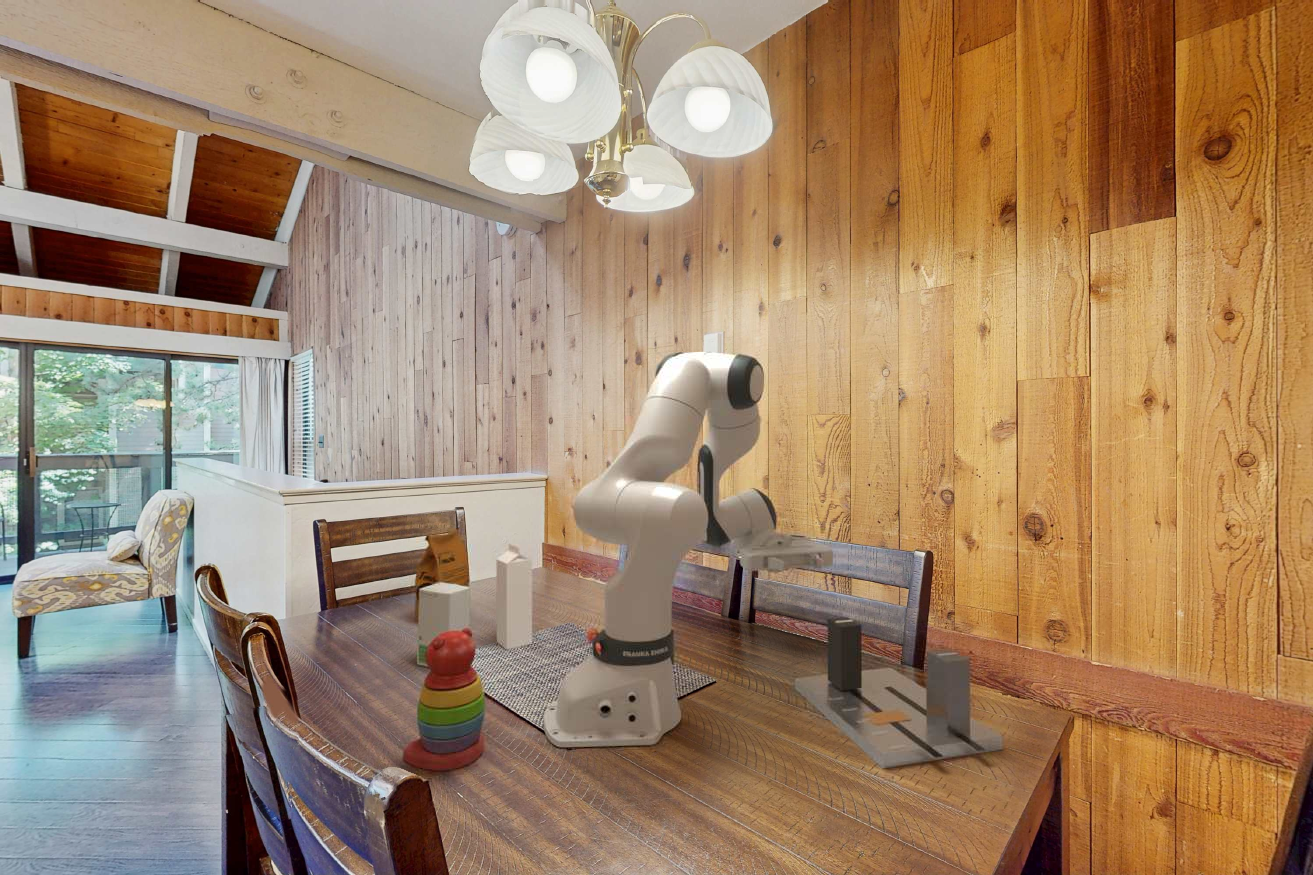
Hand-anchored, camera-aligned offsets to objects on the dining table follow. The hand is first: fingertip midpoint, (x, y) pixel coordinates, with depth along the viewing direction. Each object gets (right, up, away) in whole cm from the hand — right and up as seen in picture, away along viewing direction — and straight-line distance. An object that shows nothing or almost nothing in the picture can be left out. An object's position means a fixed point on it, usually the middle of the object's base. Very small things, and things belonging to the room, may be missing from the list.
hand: (803, 565), depth 117 cm
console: (+9, -20, -23) cm, 32 cm away
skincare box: (-73, -21, +1) cm, 76 cm away
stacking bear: (-60, -21, -32) cm, 71 cm away
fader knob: (+4, -18, -15) cm, 23 cm away
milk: (-62, -20, +13) cm, 66 cm away
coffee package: (-85, -21, +31) cm, 92 cm away
